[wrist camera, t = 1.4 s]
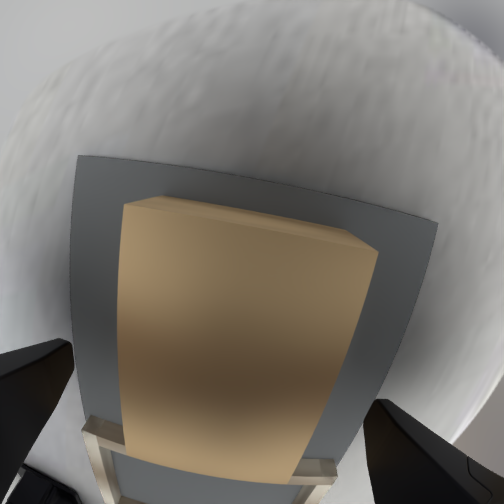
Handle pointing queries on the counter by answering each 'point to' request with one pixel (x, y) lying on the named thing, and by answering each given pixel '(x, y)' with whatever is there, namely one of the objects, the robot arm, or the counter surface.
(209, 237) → the tile
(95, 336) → the mat
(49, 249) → the counter surface
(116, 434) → the frame
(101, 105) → the counter surface
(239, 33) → the counter surface
